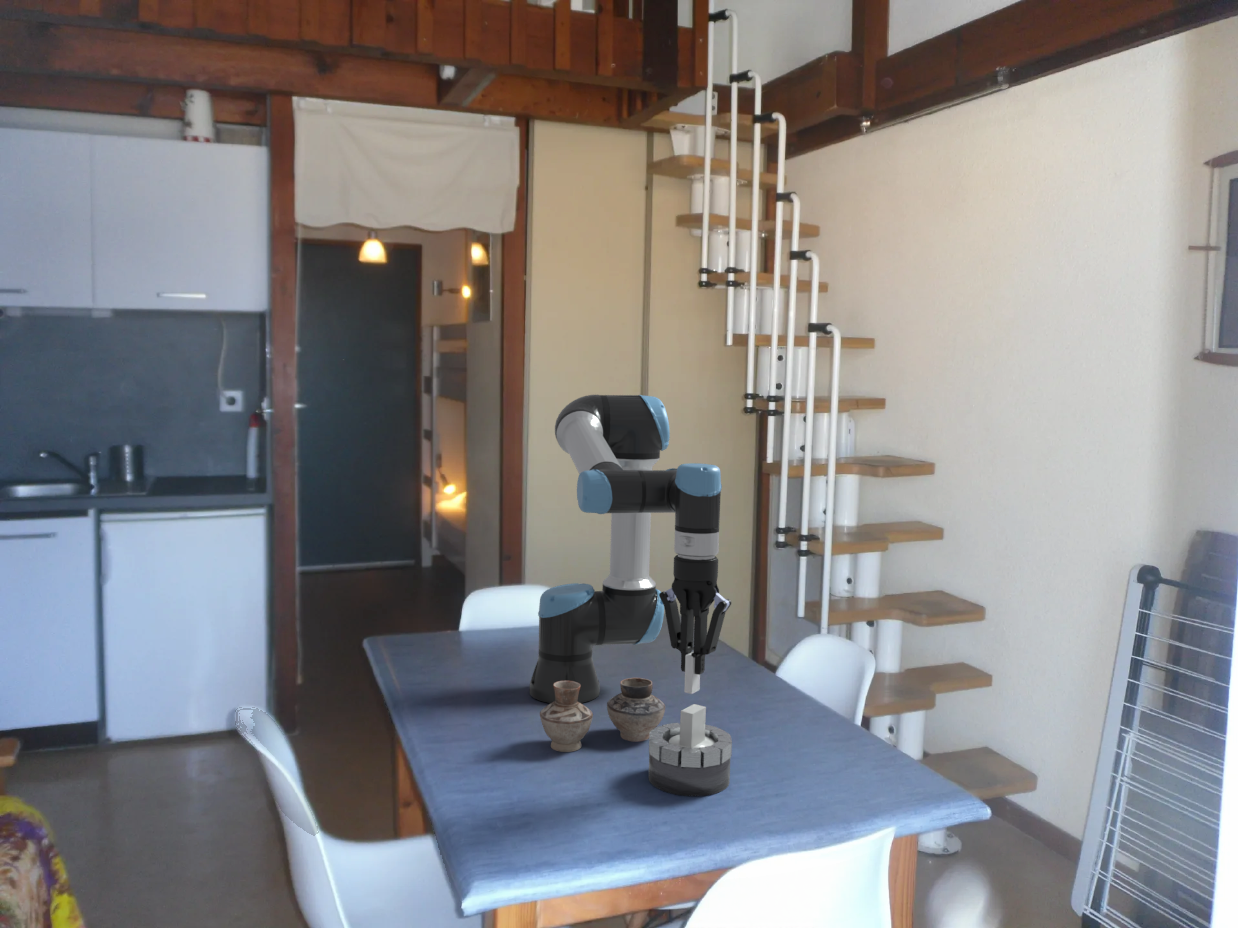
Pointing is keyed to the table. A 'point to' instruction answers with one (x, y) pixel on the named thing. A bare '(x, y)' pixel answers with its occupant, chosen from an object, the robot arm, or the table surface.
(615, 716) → the pottery
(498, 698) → the table surface
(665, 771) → the toothed ring drum
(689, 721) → the cap
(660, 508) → the robot arm
